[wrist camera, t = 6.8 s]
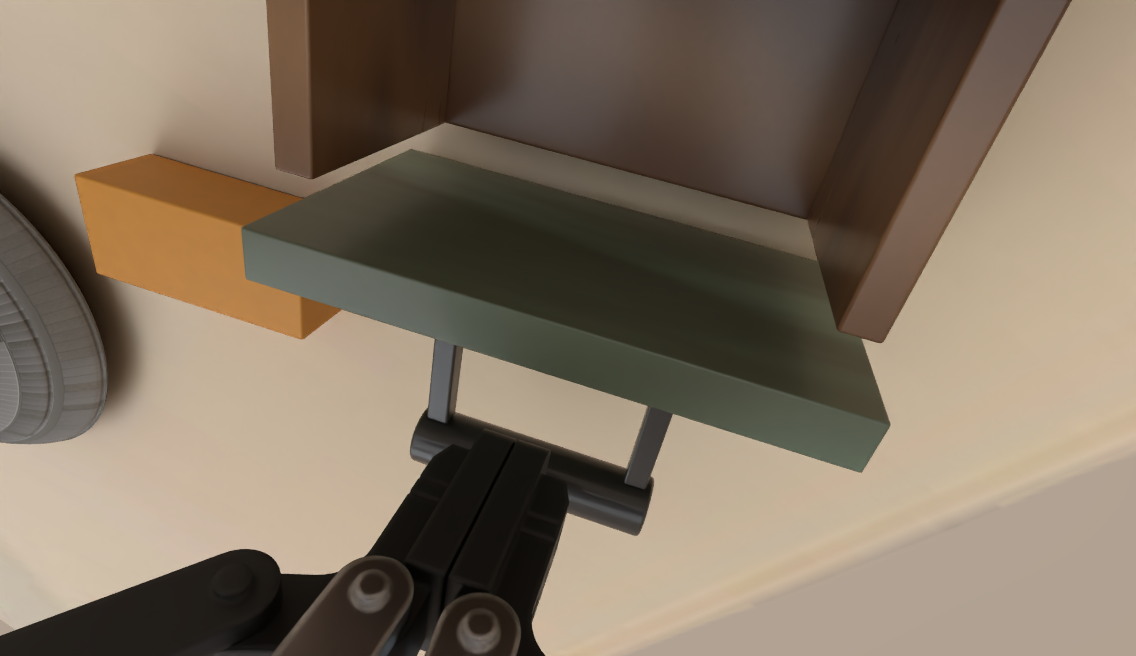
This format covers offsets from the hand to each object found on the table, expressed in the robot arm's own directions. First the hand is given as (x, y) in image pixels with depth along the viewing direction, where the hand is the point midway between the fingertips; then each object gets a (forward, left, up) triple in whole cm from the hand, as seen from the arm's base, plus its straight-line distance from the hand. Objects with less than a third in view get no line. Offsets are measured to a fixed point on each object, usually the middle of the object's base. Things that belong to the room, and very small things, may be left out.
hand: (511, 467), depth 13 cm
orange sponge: (+1, -13, -8) cm, 15 cm away
